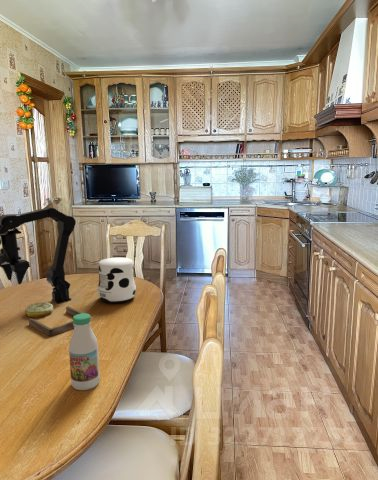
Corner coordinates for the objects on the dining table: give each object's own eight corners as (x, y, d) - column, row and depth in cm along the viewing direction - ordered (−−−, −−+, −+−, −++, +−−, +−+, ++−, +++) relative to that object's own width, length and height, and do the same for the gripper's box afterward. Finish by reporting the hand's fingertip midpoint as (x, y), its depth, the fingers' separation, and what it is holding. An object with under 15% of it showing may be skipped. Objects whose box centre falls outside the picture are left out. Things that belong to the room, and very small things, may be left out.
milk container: (138, 292, 178) (136, 256, 175) (133, 305, 161) (132, 266, 158) (102, 293, 177) (100, 257, 174) (94, 305, 160) (92, 266, 157)
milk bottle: (74, 376, 105) (70, 311, 102) (101, 374, 106) (98, 310, 102) (68, 392, 98) (63, 322, 94) (97, 390, 98) (93, 321, 95)
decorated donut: (58, 313, 153) (57, 304, 152) (32, 320, 145) (32, 312, 144) (46, 307, 160) (45, 298, 159) (21, 314, 152) (20, 305, 151)
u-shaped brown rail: (68, 311, 154) (68, 306, 153) (90, 321, 143) (90, 315, 143) (29, 324, 141) (28, 318, 140) (50, 336, 131) (49, 330, 130)
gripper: (-21, 246, 148) (-15, 282, 152) (-1, 252, 137) (4, 292, 140) (7, 241, 157) (11, 276, 160) (28, 247, 145) (32, 284, 148)
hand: (14, 282), depth 152 cm, fingers open, 9 cm apart
